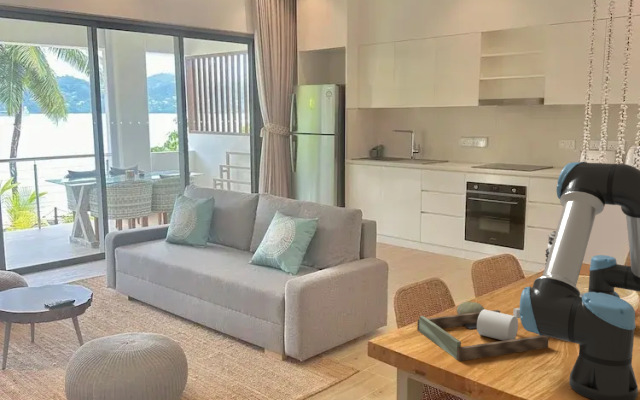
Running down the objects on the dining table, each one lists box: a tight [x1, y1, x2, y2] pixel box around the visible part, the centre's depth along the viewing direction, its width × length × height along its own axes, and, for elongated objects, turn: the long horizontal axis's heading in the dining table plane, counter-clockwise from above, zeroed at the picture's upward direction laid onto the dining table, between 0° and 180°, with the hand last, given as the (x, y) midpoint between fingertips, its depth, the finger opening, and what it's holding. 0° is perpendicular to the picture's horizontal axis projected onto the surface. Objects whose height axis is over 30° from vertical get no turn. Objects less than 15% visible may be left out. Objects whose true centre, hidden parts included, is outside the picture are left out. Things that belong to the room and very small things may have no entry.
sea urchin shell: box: [456, 301, 485, 315], centre depth 191 cm, size 9×8×8 cm
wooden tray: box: [416, 309, 550, 362], centre depth 172 cm, size 30×24×5 cm
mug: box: [476, 308, 519, 341], centre depth 174 cm, size 12×10×8 cm
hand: (514, 313), depth 175 cm, fingers closed
